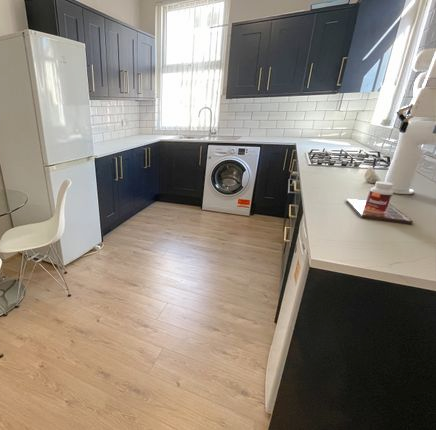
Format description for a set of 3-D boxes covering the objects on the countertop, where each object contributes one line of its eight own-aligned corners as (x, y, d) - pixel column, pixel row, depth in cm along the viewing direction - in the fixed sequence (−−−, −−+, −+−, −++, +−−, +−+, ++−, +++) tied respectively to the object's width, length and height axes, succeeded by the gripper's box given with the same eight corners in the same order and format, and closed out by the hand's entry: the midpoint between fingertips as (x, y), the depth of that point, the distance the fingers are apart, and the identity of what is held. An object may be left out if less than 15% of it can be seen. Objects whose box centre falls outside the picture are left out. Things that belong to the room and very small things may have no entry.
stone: (388, 186, 143) (389, 172, 137) (372, 192, 145) (373, 178, 140) (374, 175, 151) (374, 161, 145) (359, 180, 153) (359, 167, 148)
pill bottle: (362, 211, 104) (373, 183, 100) (363, 207, 109) (372, 179, 104) (385, 215, 100) (396, 186, 96) (384, 210, 105) (395, 182, 101)
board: (346, 201, 119) (347, 198, 118) (388, 206, 113) (389, 203, 113) (360, 217, 102) (362, 214, 101) (411, 224, 96) (413, 221, 96)
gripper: (464, 83, 100) (443, 133, 107) (401, 85, 107) (385, 131, 114) (478, 82, 94) (455, 135, 101) (411, 84, 101) (393, 133, 107)
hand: (418, 132), depth 107 cm, fingers open, 9 cm apart
